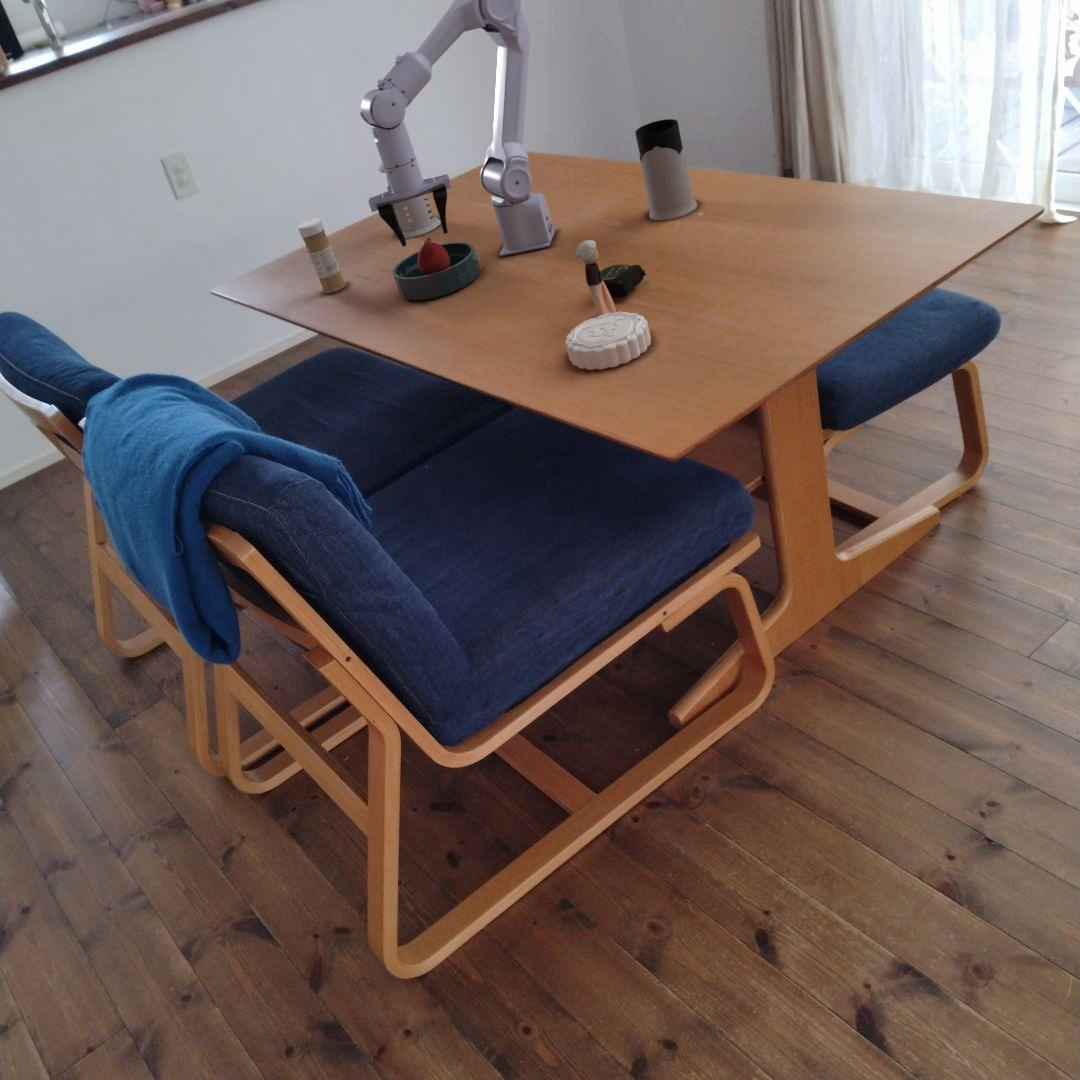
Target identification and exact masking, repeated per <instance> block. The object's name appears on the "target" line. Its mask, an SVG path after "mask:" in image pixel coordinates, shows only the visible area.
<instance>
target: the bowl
mask: <svg viewBox="0 0 1080 1080" xmlns="http://www.w3.org/2000/svg"><path fill="white" fill-rule="evenodd" d="M440 245H441V246H442V247H444V248H445V250H446V251H447V253H448V255H449V258H450V267H449V268H447V269H445V270H443V271H440V272H437V273H433V274H430V275H423V274H422V273H421V271H420V269H419V267H418V259H417V258H418V253H419V251H416V252H413V254H411V255H409V256H407V257H405V258H404V259H402V260H401V261H399V262H398V263H397V264H396V265H395V266H394V268H393V270H392V276H393V279H394V281H395V284H396V287H397V290H398V292H399V295H400V296H401V297H402V298H403V299H407V300H411V301H426V300H433V299H437V298H440V297H444V296H448V295H450V294H452V293H454V292H457V291H459V290H461V289H463V288H465V287H466V286H468V285H469V284H470V283H472V282H473V281H474V280H476V278H477V277H479V275H480V272H481V270H482V269H481V265H480V263H479V259H478V257H477V253H476V251H475V250H476V249H475V247H474V245H473V244H471V243H469V242H465V241H454V242H453V241H452V242H446V243H441V244H440Z"/></svg>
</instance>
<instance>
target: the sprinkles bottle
mask: <svg viewBox="0 0 1080 1080" xmlns="http://www.w3.org/2000/svg"><path fill="white" fill-rule="evenodd" d="M297 230H298V233H299V235H300V237H301V238H302V240H303V242H304V245H305V247H306V249H307V253H308V255H309V258H310V260H311V263H312V265H313V269H314V271H315V273H316V276H317V277H318V279H319V282H320V284H321V287H322V291H323V293H325V294H333V293H337V292H339V291H341V290H343V289H344V288H345V287H346V282H345V280H344V278H343V276H342V273H341V271H340V268H339V265H338V262H337V259H336V256H335V254H334V252H333V249H332V247H331V244H330V242H329V239H328V237H327V235H326V232H325V227H324V223H323V222H322V220H321V219H320V218H313V219H309V220H306V221H304V222H302V223H301V224H299V225H298V227H297Z"/></svg>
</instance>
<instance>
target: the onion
mask: <svg viewBox="0 0 1080 1080" xmlns="http://www.w3.org/2000/svg"><path fill="white" fill-rule="evenodd" d="M418 252H419V253H418V258H417V259H418V267H419V269H420V271H421V273H422V274H423V275H430V274H433V273H437V272H440V271H443V270H445V269H447V268H449V267H450V258H449V255H448V253H447V251H446V250H445V248H444V247H442V246H441V244H439V243H436V242H433V241H432V238H430V237H426V238H425V239H424V242H423V245H422V246H421V247H420V248H419V250H418Z"/></svg>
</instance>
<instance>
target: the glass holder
mask: <svg viewBox="0 0 1080 1080" xmlns="http://www.w3.org/2000/svg"><path fill="white" fill-rule="evenodd" d="M634 133H635V138H636V144H637V148H638V154H639V163H640V167H641V173H642V176H643V181H644V186H645V191H646V195H647V200H648V205H649V215H648V217H649V218H650V219H651V220H654V221H668V220H669V221H670V220H673V219H674V220H675V219H678V218H681V217H684V216H686V215H688V214H690V213H692V212H693V211H694V210H696V208H697V207H698V203H697V201H696V200H695V197H694V194H693V190H692V184H691V178H690V173H689V167H688V163H687V157H686V153H685V152H686V151H685V147H683V143H682V142H683V141H682V137H681V132H680V125H679V122H678V120H677V119H674V118H665V119H660V120H656V121H651V122H650V123H647V124H644V125H642V126H640V127H638V128H637V129H636V130H635V132H634Z"/></svg>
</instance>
